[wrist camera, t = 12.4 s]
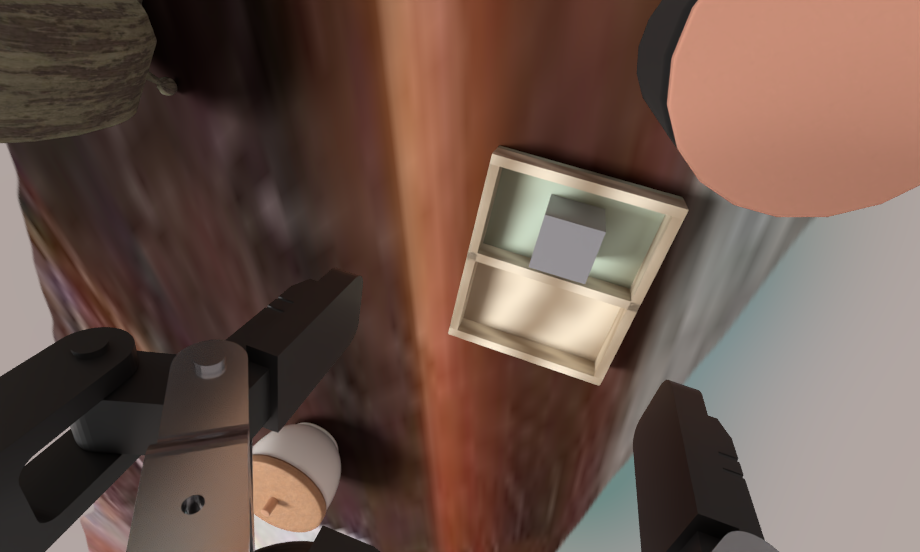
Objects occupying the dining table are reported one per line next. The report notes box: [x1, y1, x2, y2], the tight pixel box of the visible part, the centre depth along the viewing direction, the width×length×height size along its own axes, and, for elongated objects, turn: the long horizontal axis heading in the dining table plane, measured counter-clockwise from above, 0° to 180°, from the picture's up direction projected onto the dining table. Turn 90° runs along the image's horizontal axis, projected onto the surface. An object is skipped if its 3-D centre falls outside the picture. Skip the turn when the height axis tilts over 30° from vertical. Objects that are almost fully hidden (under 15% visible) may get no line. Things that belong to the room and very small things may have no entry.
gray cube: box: [529, 194, 606, 284], centre depth 36 cm, size 4×4×5 cm
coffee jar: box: [637, 0, 920, 217], centre depth 23 cm, size 11×11×18 cm
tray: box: [448, 146, 689, 386], centre depth 40 cm, size 15×18×3 cm
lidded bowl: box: [252, 422, 341, 532], centre depth 58 cm, size 13×13×11 cm
